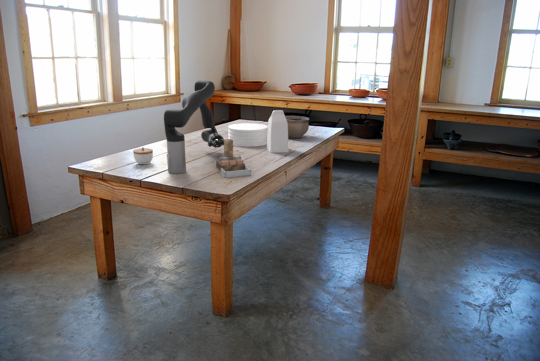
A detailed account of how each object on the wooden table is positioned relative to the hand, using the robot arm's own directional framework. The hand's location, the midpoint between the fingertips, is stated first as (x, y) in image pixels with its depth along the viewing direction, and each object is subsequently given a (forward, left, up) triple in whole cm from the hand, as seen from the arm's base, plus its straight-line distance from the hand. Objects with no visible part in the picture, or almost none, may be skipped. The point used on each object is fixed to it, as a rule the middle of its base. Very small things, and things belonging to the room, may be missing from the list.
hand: (223, 145), depth 246 cm
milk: (+42, +21, -11) cm, 48 cm away
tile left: (-4, -17, -7) cm, 19 cm away
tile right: (+4, -17, -7) cm, 19 cm away
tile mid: (0, -17, -7) cm, 19 cm away
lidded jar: (-43, +15, -11) cm, 47 cm away
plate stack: (+32, +51, -11) cm, 61 cm away
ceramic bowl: (+70, +57, -11) cm, 91 cm away
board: (0, -14, -11) cm, 17 cm away
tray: (0, -24, -11) cm, 26 cm away
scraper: (0, -11, -7) cm, 13 cm away
